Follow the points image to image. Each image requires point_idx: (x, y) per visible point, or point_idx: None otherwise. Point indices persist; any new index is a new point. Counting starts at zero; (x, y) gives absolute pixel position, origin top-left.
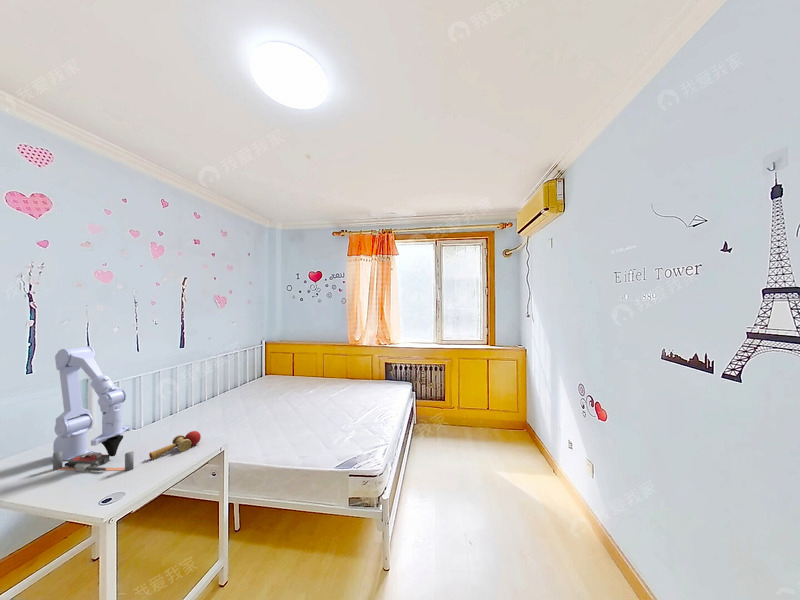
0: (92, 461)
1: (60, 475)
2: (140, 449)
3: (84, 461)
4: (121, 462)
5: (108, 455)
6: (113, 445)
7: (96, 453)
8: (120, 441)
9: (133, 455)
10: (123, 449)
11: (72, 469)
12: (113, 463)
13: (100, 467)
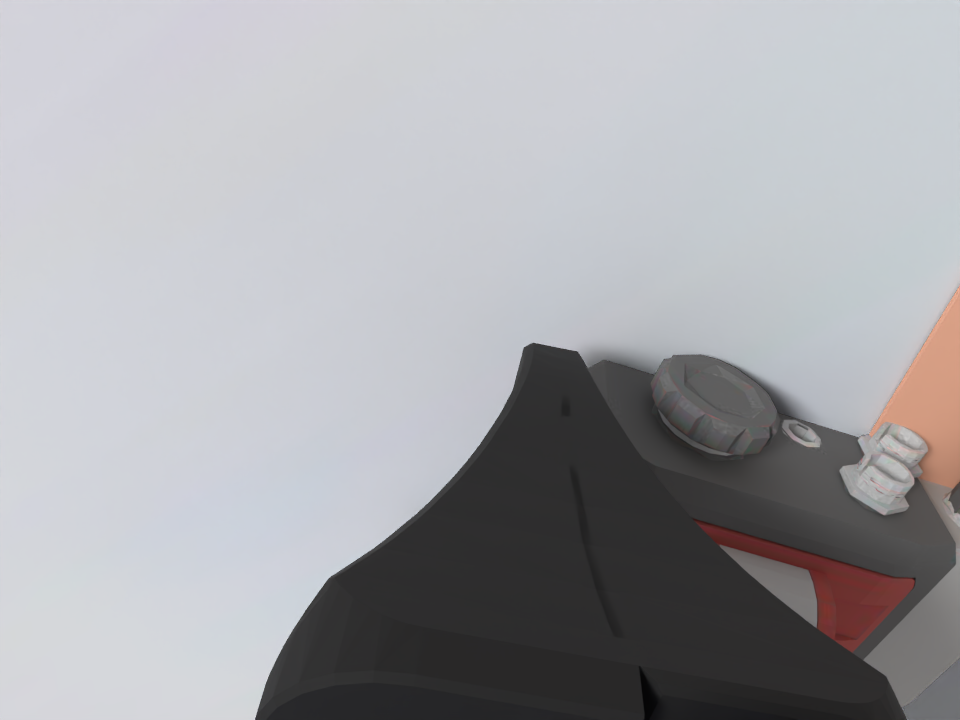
0: (920, 570)
1: (946, 713)
2: (6, 13)
3: None
4: (801, 10)
5: None
6: (730, 557)
7: None
8: (437, 520)
9: None
10: (65, 417)
11: None
12: (785, 193)
13: (934, 340)
